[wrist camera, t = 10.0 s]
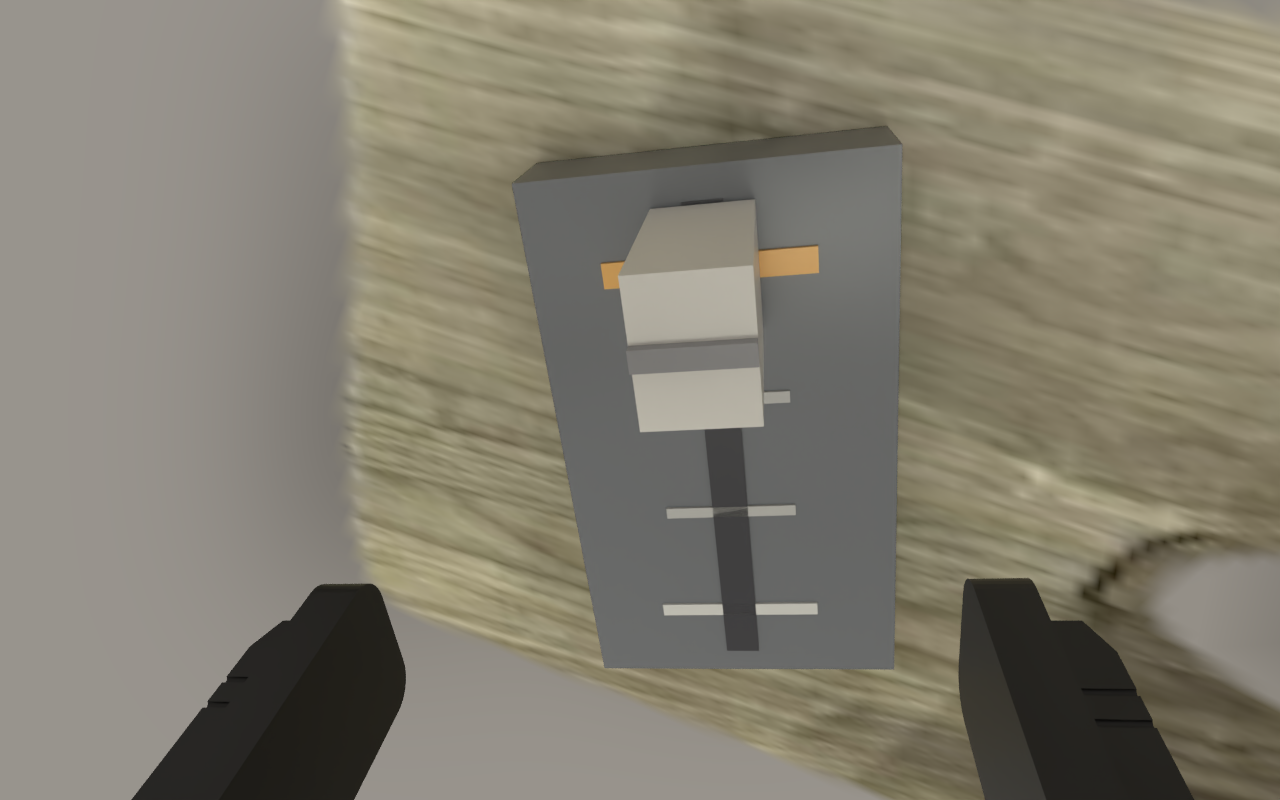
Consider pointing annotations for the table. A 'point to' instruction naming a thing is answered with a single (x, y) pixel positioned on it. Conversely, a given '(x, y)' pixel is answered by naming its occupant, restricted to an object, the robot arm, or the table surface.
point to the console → (734, 457)
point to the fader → (695, 318)
